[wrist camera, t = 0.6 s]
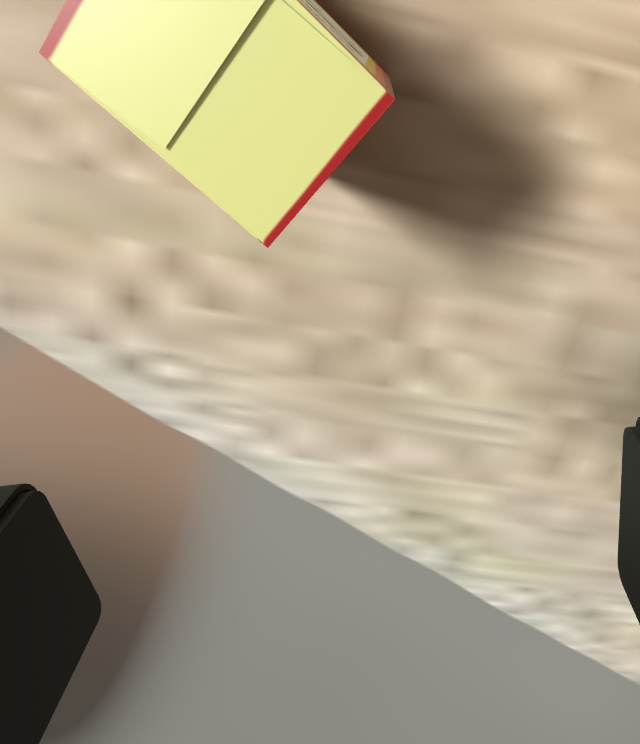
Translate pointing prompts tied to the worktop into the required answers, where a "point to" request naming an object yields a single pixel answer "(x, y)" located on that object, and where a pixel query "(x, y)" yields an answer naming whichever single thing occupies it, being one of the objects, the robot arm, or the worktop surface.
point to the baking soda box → (228, 93)
